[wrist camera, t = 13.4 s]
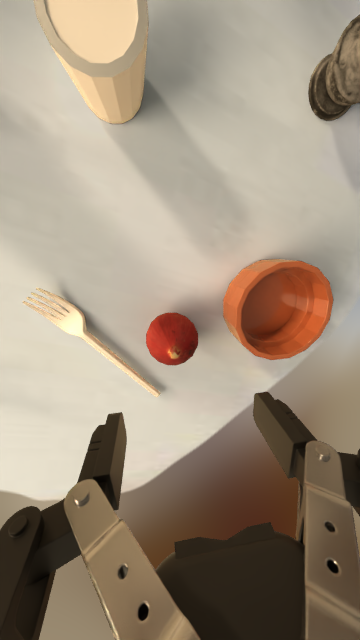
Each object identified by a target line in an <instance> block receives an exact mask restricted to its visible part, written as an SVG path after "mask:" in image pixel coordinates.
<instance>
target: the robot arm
mask: <svg viewBox="0 0 360 640" xmlns="http://www.w3.org/2000/svg"><path fill="white" fill-rule="evenodd" d="M253 416H254V420H255V423H256V425H257V427H258V428H259V430H260V432H261V433H262V435H263V437H264V438H265V440H266V442H267V443H268V445H269V447H270V449H271V450H272V452H273V454H274V455H275V457H276V458H277V460H278V462H279V464H280V465H281V467H282V469H283V470H284V472H285V474H286V475H287V477H288V478H293V477H296V478H297V479H298V481H299V490H298V513H297V528H296V537H295V539H294V538H292V537H290V536H288V535H285V534H283V533H279V532H275V531H274V530H273V527H272V525H271V523H270V522H269V523H264V524H259V525H254V526H250V527H247V528H245V529H244V530H242V531H240V532H239V533H237V534H236V535H234V536H232V537H231V538H229V539H228V540H217V539H209V538H201V537H197V538H192V539H188V540H183V541H178V542H175V552H174V553H172V554H171V555H169V556H168V557H167V558H166V559H165V560H164V561H163V562H162V563H161V564H160V565H159V566H158V567H157V569H156V570H154V568H153V566H152V565H151V563H150V562H149V560H148V558H147V557H146V555H145V553H144V552H143V550H142V549H141V547H140V545H139V544H138V542H137V541H136V539H135V538H134V536H133V534H132V533H131V531H130V529H129V528H128V526H127V525H126V523H125V522H124V520H123V519H121V520H120V519H119V517H118V516H117V514H116V513H115V511H114V510H118V508H119V499H120V492H121V484H122V476H123V468H124V460H125V451H126V442H127V437H126V429H125V424H124V419H123V414H122V412H120V413H113V414H108V417H107V420H106V424H105V425H99V426H98V427H97V429H96V430H95V431H94V433H93V434H92V437H91V441H90V444H89V447H88V452H87V453H86V457H85V460H84V463H83V466H82V470H81V473H80V476H79V479H78V482H77V484H76V485H75V486H74V487H73V488H72V489H71V490H70V491H69V492H68V494H67V496H66V498H64V499H63V500H62V501H60V502H58V503H56V504H54V505H52V506H50V507H48V508H46V509H44V510H42V511H40V510H39V509H38V508H37V507H34V506H30V507H26V508H23V509H21V510H19V511H18V512H16V513H15V514H14V515H13V516H12V517H10V518H9V519H8V520H7V521H6V523H5V524H4V525H3V527H2V528H1V530H0V640H39V636H40V632H41V628H42V624H43V620H44V616H45V612H46V608H47V604H48V600H49V596H50V592H51V588H52V584H53V580H54V576H55V572H56V569H58V568H60V567H61V566H63V565H64V564H66V563H68V562H69V561H71V560H73V559H74V558H76V557H77V556H79V555H81V556H82V558H83V561H84V563H85V565H86V568H87V570H88V573H89V575H90V578H91V580H92V583H93V585H94V588H95V590H96V592H97V595H98V597H99V600H100V603H101V605H102V608H103V610H104V613H105V616H106V618H107V620H108V623H109V626H110V628H111V630H112V633H113V635H114V638H115V640H360V557H359V551H358V544H357V537H356V531H355V524H354V518H353V511H352V506H353V507H354V509H355V510H356V512H357V513H358V514H359V516H360V449H359V451H358V454H357V455H354V454H347V453H340V452H337V451H336V450H335V449H334V448H332V447H331V446H330V445H328V444H326V443H324V442H321V441H317V439H316V438H315V437H314V436H313V435H312V434H311V433H310V431H309V430H308V429H307V428H306V427H305V426H304V424H303V423H302V422H301V421H300V420H299V419H298V418H297V416H296V415H295V414H294V413H293V412H292V410H291V409H290V408H289V407H288V406H287V405H286V404H285V403H283V402H281V401H280V400H278V399H277V400H274V398H273V397H272V396H271V395H270V394H269V393H268V392H263V393H256V394H255V395H254V409H253Z"/></svg>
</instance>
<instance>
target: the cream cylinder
mask: <svg viewBox="0 0 360 640" xmlns="http://www.w3.org/2000/svg"><path fill="white" fill-rule="evenodd" d="M34 4H35V9H36V15H37V18H38V20H39V22H40V25H41V27H42V29H43V31H44V33H45V35H46V37H47V39H48V41H49V43H50V45H51V46H52V48H53V50H54V51H55V53H56V55H57V56H58V58H59V59H60V61H61V63H62V64H63V66H64V68H65V69H66V71H67V73H68V74H69V76H70V77H71V79H72V81H73V82H74V84H75V86H76V87H77V89H78V90H79V92H80V94H81V95H82V97H83V99H84V100H85V102H86V103H87V105H88V107H89V108H90V109H91V110H92V111H93V112H94V113H95V114H96V115H97V116H98V117H99V118H100V119H102V120H104V121H106V122H109V123H111V124H123V123H124V122H126V121H128V120H130V119H132V118H133V117H134V115H135V114H136V113H137V111H138V110H139V108H140V105H141V101H142V97H143V89H144V76H145V63H146V50H147V37H148V24H149V23H148V9H147V0H34Z"/></svg>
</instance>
